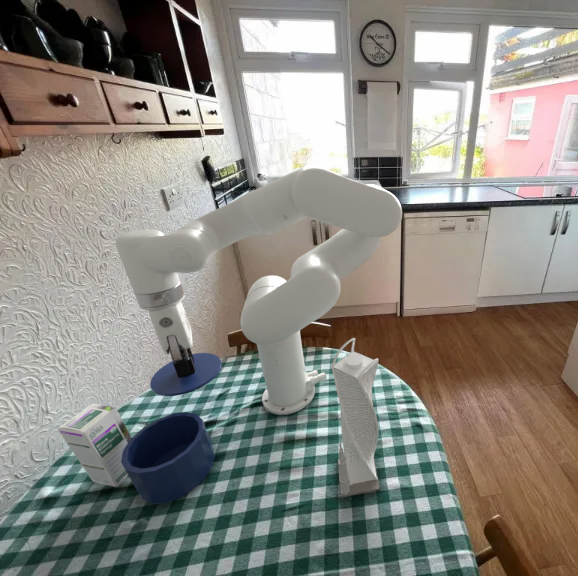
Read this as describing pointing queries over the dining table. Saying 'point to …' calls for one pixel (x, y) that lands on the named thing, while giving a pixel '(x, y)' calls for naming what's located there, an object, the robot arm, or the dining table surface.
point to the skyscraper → (356, 422)
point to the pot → (169, 457)
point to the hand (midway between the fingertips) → (186, 368)
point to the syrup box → (98, 442)
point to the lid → (172, 385)
